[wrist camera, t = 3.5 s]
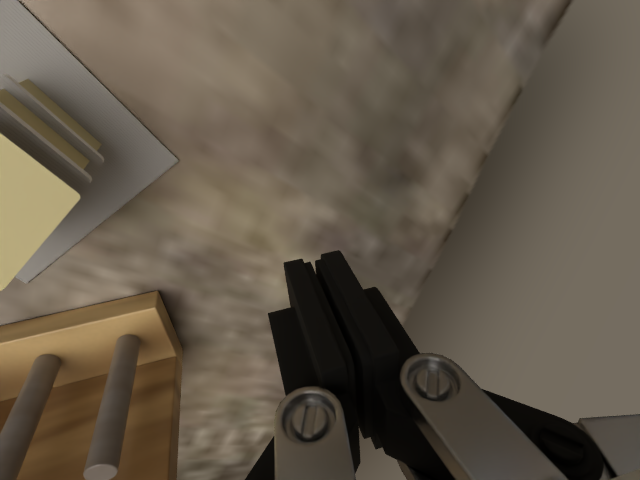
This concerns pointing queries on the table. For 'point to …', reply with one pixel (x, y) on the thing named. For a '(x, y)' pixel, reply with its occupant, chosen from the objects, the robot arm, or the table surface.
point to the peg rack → (91, 393)
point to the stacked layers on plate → (60, 148)
